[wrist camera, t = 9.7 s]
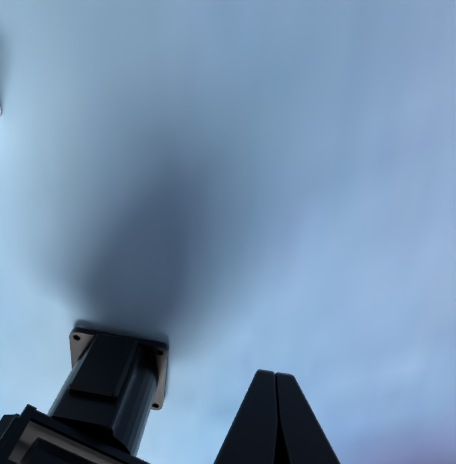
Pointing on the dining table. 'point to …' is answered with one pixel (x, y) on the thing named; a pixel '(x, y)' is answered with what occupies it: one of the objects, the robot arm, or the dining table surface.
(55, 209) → the dining table surface
